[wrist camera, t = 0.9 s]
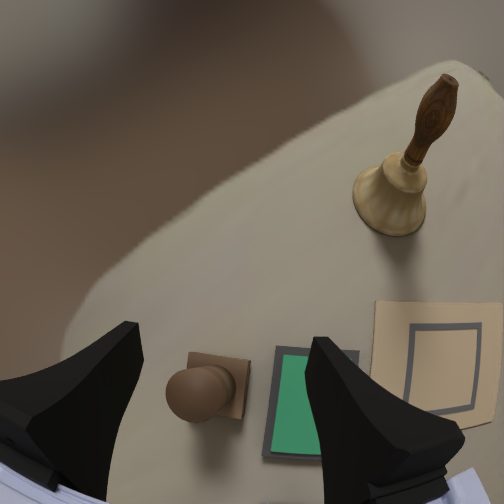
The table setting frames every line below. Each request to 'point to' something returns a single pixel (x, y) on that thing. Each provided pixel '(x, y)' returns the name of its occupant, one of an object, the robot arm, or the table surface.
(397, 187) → the hand bell
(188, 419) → the stamp
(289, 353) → the ink pad
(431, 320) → the plate
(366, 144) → the table surface
